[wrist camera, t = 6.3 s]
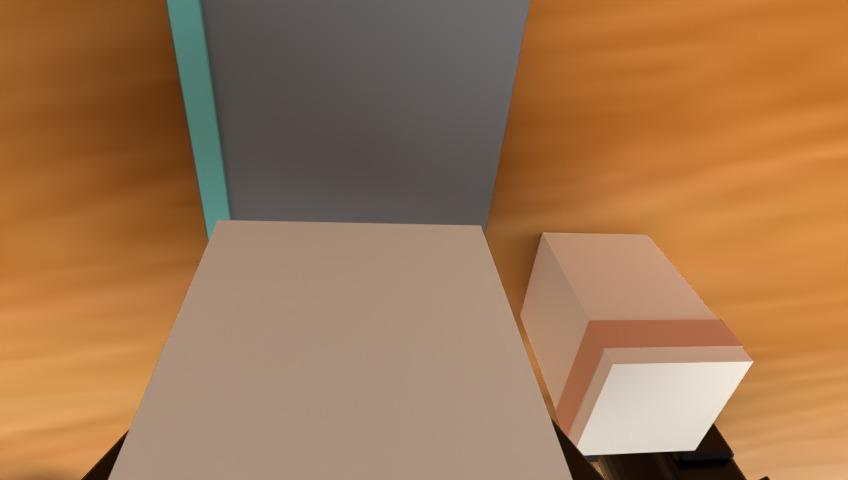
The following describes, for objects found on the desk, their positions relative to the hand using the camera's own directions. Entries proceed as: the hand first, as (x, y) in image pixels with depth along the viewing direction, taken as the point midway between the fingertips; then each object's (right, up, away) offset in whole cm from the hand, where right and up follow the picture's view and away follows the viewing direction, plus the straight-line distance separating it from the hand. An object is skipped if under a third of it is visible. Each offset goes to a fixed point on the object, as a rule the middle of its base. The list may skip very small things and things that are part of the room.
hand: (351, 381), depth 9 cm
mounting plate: (-1, +6, +8) cm, 10 cm away
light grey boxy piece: (+8, +1, +13) cm, 16 cm away
